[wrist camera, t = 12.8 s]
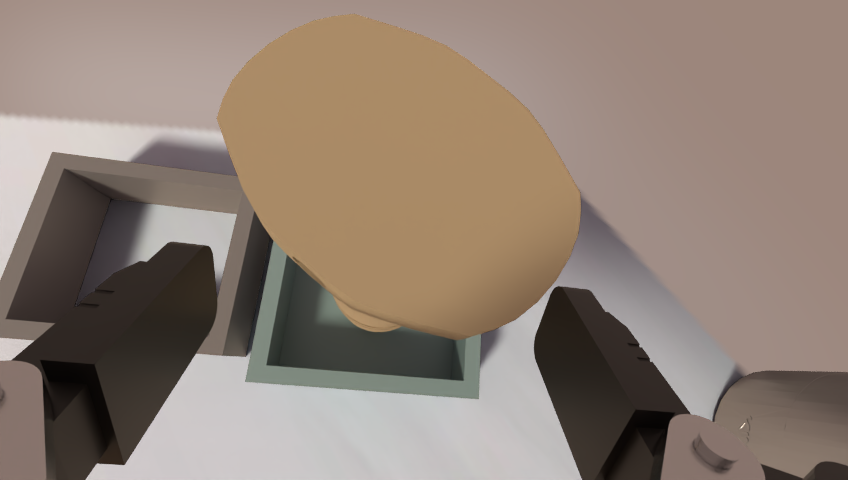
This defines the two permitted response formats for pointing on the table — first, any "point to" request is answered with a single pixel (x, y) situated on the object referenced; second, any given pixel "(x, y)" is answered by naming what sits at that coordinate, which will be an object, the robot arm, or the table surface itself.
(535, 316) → the table surface
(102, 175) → the open rectangular frame
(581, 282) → the table surface
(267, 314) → the parts tray
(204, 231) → the table surface
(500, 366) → the table surface
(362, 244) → the handle
